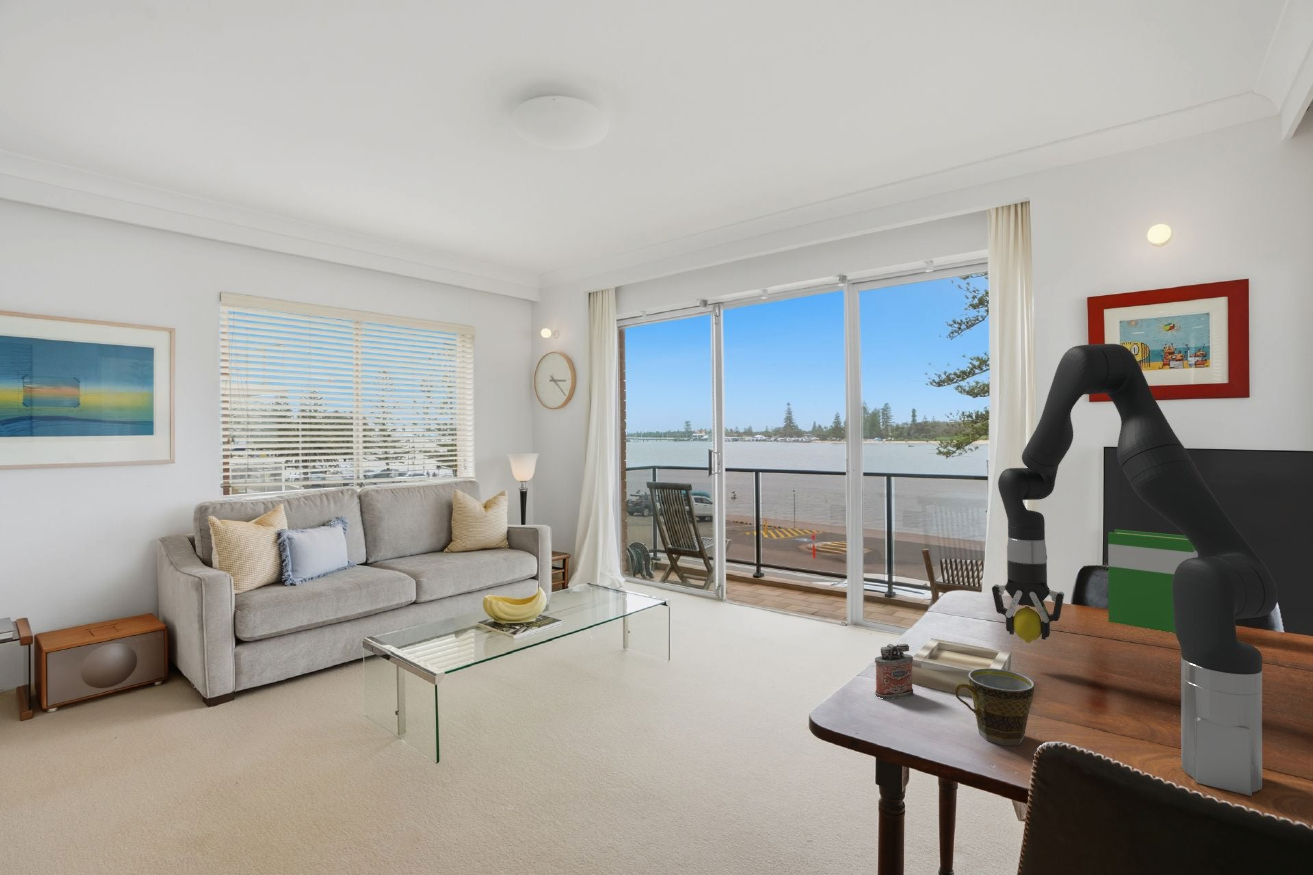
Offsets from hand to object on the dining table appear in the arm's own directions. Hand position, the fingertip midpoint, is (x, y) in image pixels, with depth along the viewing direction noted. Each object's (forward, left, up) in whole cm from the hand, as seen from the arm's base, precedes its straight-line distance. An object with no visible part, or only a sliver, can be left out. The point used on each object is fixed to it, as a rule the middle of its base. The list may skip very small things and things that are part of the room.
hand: (1028, 636), depth 142 cm
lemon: (0, 0, -2) cm, 2 cm away
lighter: (-31, +19, -7) cm, 37 cm away
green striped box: (+52, -22, -7) cm, 57 cm away
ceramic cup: (-39, 0, -7) cm, 39 cm away
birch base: (-15, +10, -8) cm, 20 cm away
